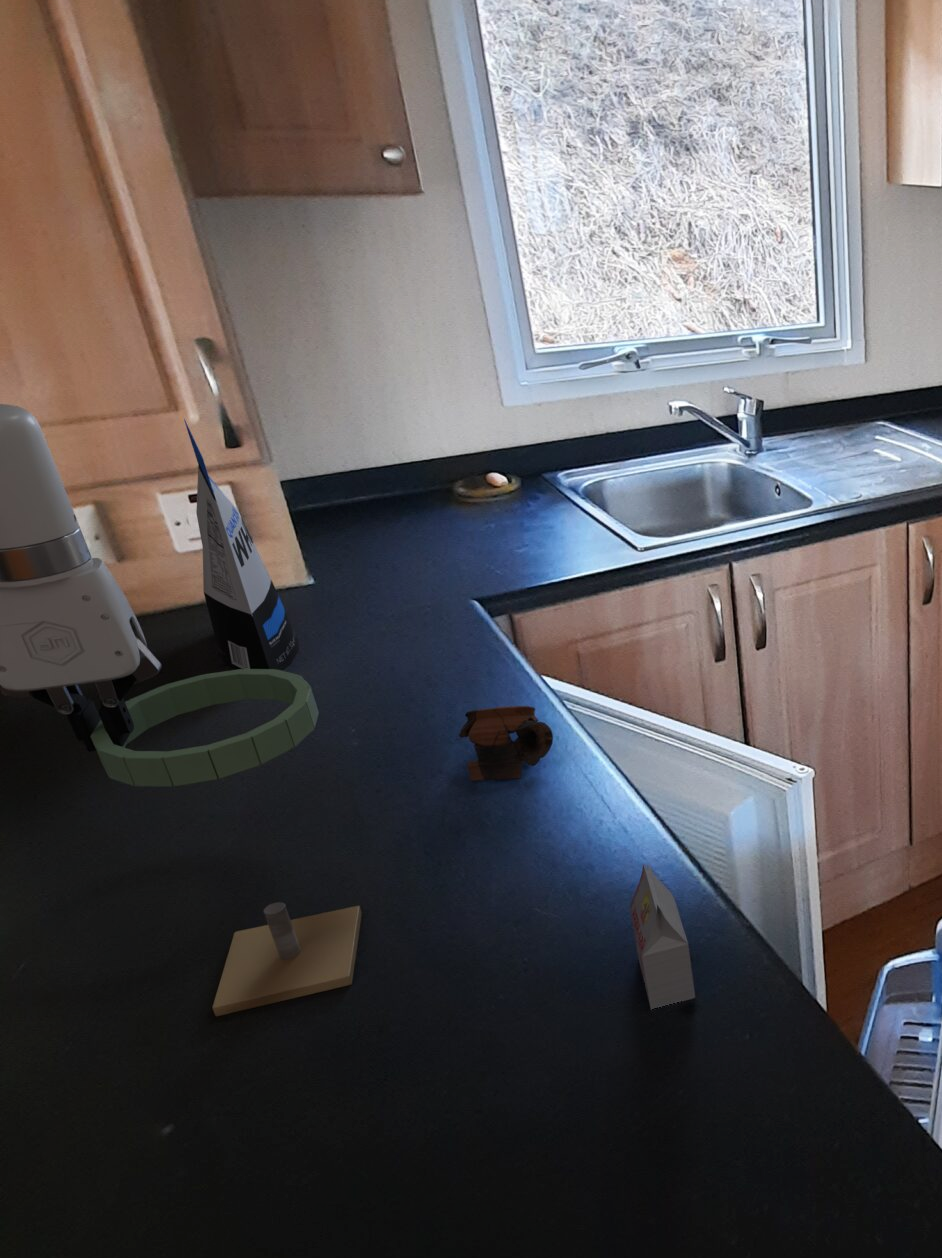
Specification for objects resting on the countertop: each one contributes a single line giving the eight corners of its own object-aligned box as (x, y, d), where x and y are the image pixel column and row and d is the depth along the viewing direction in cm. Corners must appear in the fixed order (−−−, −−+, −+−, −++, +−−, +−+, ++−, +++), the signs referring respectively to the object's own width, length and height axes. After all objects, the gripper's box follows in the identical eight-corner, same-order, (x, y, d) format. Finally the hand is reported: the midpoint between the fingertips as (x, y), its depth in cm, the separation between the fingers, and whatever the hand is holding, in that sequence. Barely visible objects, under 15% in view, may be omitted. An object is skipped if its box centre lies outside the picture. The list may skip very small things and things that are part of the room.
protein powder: (231, 690, 136) (154, 464, 123) (210, 627, 153) (141, 423, 140) (313, 671, 141) (248, 452, 128) (284, 612, 158) (225, 414, 145)
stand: (215, 1017, 86) (192, 961, 83) (237, 940, 94) (217, 887, 92) (352, 984, 90) (334, 930, 87) (362, 913, 98) (346, 861, 95)
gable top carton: (680, 947, 94) (668, 857, 90) (695, 997, 89) (683, 904, 84) (638, 958, 93) (623, 867, 88) (650, 1010, 87) (636, 916, 83)
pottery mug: (443, 785, 118) (438, 712, 118) (505, 779, 127) (500, 711, 127) (530, 777, 114) (524, 702, 115) (587, 771, 123) (582, 701, 123)
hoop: (79, 803, 90) (65, 773, 89) (131, 712, 104) (121, 685, 103) (305, 764, 96) (296, 736, 95) (326, 683, 110) (319, 657, 109)
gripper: (-105, 584, 83) (-9, 779, 91) (130, 558, 88) (200, 745, 97) (-65, 552, 89) (21, 738, 97) (152, 531, 94) (216, 709, 103)
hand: (110, 741), depth 97 cm, fingers closed on hoop, 1 cm apart
